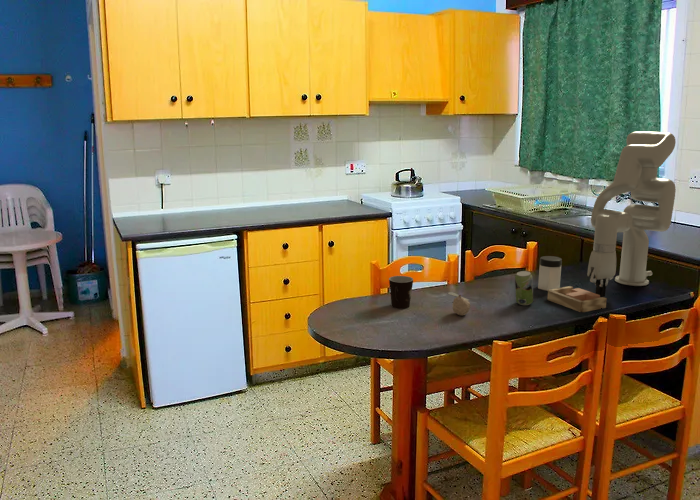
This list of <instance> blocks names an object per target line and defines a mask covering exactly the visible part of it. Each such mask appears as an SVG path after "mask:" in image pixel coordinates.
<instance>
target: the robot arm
mask: <svg viewBox="0 0 700 500" xmlns="http://www.w3.org/2000/svg"><path fill="white" fill-rule="evenodd" d="M675 147H676V137H675V135H674V134H672V133H671V132H666V131H665V132H663V131H646V130H645V131H643V130H642V131H640V130H639V131H633V132H630V133H629V134H627V137H626V146H624V147H623V148H622V149H621V152H620V156H619V160H618V162H617V167H616V171H615V174H614V178H613V180H612V181H613V182H612V183H611V184H609V185H608V186H607V187H606V188H604V189H603V190H602V191H601V193H600V194H598V196H597V197H596V199H595V201H594V204H593V208H592V210H591V211H592V212H591V215H590V225H591V226H592V227H593V228H594V237H593V247H592V248H593V250H591V253H590V256H589V259H588V266H587V273H586V274H587V277H588V278H589V281H590V283H593V284H594V285H595V294H598V295H600V298H601V297H604V298H606V291H607V286H608V284H609V281H611V280H613V279H614V281H615V282H616V283H618V284H621V285H625V286H630V287H631V286H634V287H642V286H643V287H644V286H647V285H649V284H650V280H648V278H647V277H650V276H653V272H652V270H647V263H648V262H647V261H648V255H649V254H648V253H649V247H650V246H649V242H650V240H649V237H648V235H647V233H646V231H653V232H666V231H668V229H669V228H670V226H671V223H672V220H673V219H672V218H673V213H674V212H673V211H674V205H675V200H676V191H677V190H676V185H675V182H674V181H673V180H672V179H669V178H661V177H658V176H657V175H658V168H660V167H661V166H662V165H663V164H664V163H665V162H666V160H667V159H668V158H669V157H670V156H671V154H672V153H673V151H674V149H675ZM629 192H630V196H631V198H632V199H633V200H635V201H638V202H639V201H640V202H646V203H655V204H658V206H655V205H648V204H641V203H640V204H637V203H636V204H634V203H633V204H629V205H627V206H626V207H624V209H623V211H619V210H613V209H605V208H606V205H607V203H609V201H610V200H612V199H614V198H615V197H617V196H620V195H622V194H626V193H629ZM618 233H623V235H622V246H621V254H620V256H621V258H620V264H619V265H620V266H619V275H616V271H617V253H616V246H617V238H618V237H617V236H618ZM615 275H616V276H615ZM614 276H615V277H614Z"/></svg>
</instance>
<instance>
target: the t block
mask: <svg viewBox="0 0 700 500" xmlns="http://www.w3.org/2000/svg"><path fill="white" fill-rule="evenodd" d="M565 295H566V296H569V297H572V298H575V299H578V300H581V301H585V300H590V299H596V298H601V297H600V295H598V294H595V293H594V292H592V291H589V290H586V289H583V288H580V287H576V288H573V289H572V290H571V293H567V294H565Z"/></svg>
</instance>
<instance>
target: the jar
mask: <svg viewBox="0 0 700 500" xmlns="http://www.w3.org/2000/svg"><path fill="white" fill-rule="evenodd" d="M562 260H563V259H562V258H561V257H559V256H553V255H545V256H540V258H539V270H538V271H539V272H538V281H537V283H538V284H537V288H538V289H539V290H542V291H547V292H548V290H550V289H556V288H561V277H562V276H561V274H562V264H563V261H562Z"/></svg>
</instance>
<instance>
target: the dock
mask: <svg viewBox="0 0 700 500" xmlns="http://www.w3.org/2000/svg"><path fill="white" fill-rule="evenodd" d="M572 289H574V286H571V285H569V286H563V287H560V288H556V289H550V290H548V291H547V298H546V299H547V300H546V301H550V302H551V303H555V304H557V305H560V306H563V307H566V308H568V309H570V310H571V309H572V310H573V311H576V312H579V313H586V312H591V311H595V310H602V309H606V308H607V299H608V298H607V297H600V298H596V299H590V300H585V301H581V300H578V299H575V298H572V297H569V296H566V295H565V294H567V293H571V290H572ZM601 308H602V309H601Z"/></svg>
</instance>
